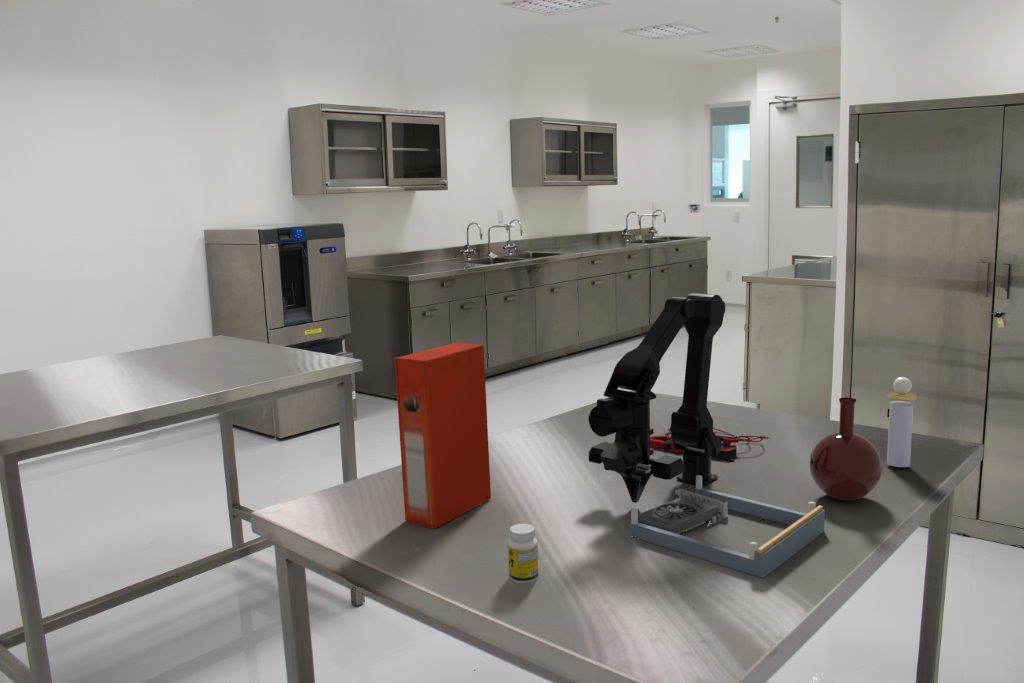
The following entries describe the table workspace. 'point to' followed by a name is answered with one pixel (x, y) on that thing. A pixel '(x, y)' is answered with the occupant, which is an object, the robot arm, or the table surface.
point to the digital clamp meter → (725, 454)
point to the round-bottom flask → (845, 460)
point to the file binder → (443, 432)
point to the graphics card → (684, 513)
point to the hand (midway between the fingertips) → (635, 502)
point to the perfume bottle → (900, 423)
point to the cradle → (757, 560)
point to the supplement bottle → (523, 554)
